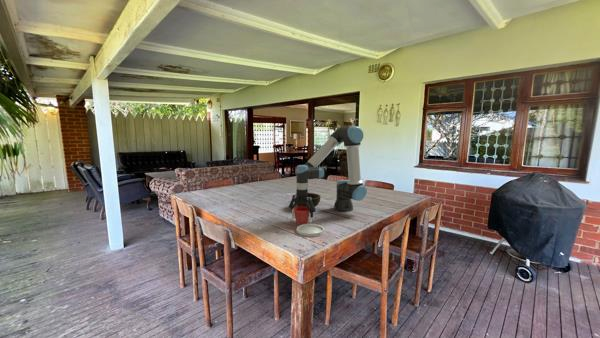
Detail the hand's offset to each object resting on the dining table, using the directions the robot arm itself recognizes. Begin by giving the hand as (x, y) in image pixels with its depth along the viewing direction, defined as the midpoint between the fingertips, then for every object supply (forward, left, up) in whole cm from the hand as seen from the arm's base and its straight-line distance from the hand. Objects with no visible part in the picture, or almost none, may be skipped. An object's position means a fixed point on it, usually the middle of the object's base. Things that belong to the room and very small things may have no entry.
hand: (301, 220), depth 174 cm
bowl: (-31, -16, -2) cm, 35 cm away
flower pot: (0, 0, -2) cm, 2 cm away
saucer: (+10, +13, -2) cm, 16 cm away
